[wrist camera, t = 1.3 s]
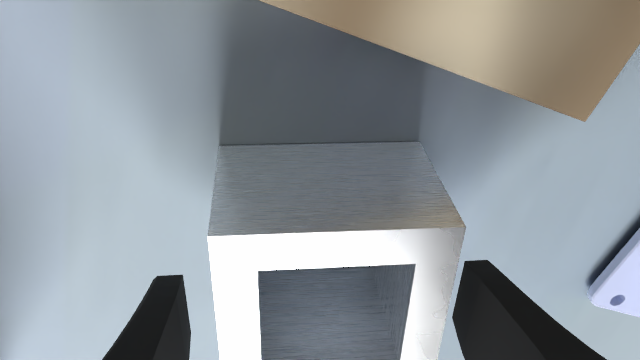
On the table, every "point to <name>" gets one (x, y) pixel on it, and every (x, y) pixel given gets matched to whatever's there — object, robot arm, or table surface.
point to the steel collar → (331, 252)
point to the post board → (500, 41)
